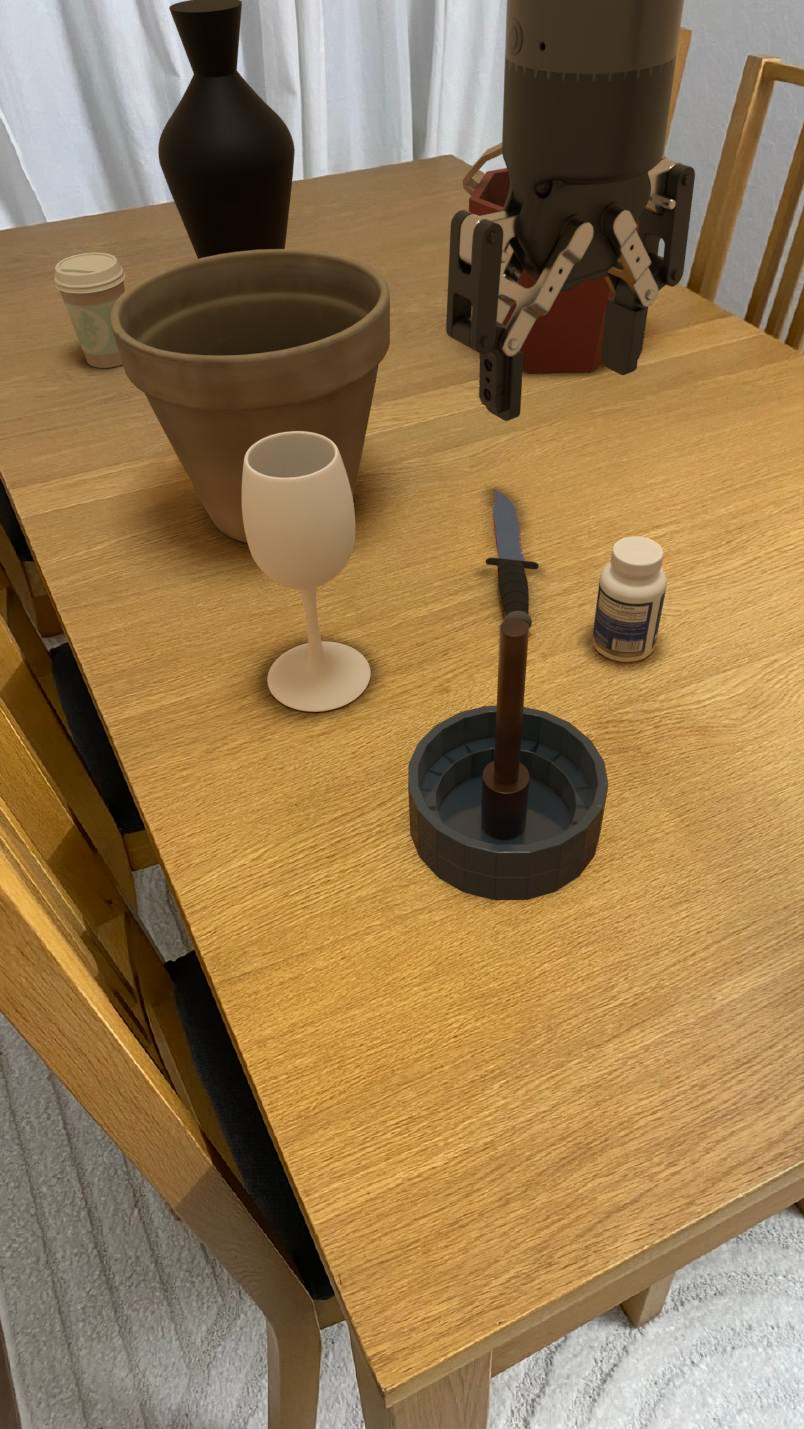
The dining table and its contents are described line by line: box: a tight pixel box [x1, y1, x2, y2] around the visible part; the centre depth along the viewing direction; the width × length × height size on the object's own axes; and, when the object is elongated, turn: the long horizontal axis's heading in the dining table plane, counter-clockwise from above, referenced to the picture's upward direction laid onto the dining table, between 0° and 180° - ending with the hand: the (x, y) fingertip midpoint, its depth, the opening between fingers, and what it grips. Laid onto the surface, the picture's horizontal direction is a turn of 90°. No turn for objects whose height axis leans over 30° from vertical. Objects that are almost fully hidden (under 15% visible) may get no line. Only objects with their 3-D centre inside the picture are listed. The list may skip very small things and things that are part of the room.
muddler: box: [481, 618, 530, 840], centre depth 65 cm, size 3×3×18 cm
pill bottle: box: [592, 535, 668, 663], centre depth 82 cm, size 5×5×10 cm
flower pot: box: [110, 248, 391, 544], centre depth 95 cm, size 25×25×22 cm
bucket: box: [462, 142, 668, 374], centre depth 118 cm, size 24×22×25 cm
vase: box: [157, 0, 296, 259], centre depth 127 cm, size 17×17×35 cm
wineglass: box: [242, 431, 372, 713], centre depth 76 cm, size 9×9×21 cm
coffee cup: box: [53, 252, 126, 369], centre depth 125 cm, size 8×9×12 cm
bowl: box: [407, 705, 609, 901], centre depth 69 cm, size 13×13×6 cm
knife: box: [485, 489, 540, 630], centre depth 94 cm, size 24×2×5 cm
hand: (561, 391), depth 55 cm, fingers open, 8 cm apart
